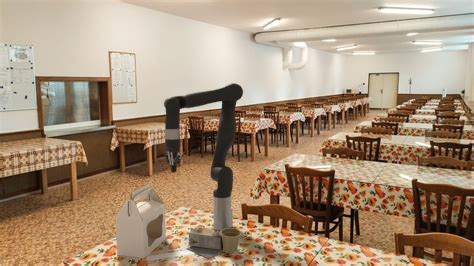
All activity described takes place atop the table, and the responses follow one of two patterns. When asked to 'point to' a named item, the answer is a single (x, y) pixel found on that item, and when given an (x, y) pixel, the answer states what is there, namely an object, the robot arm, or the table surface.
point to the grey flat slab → (204, 251)
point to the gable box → (140, 224)
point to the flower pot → (230, 239)
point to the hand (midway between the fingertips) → (173, 172)
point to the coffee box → (206, 238)
